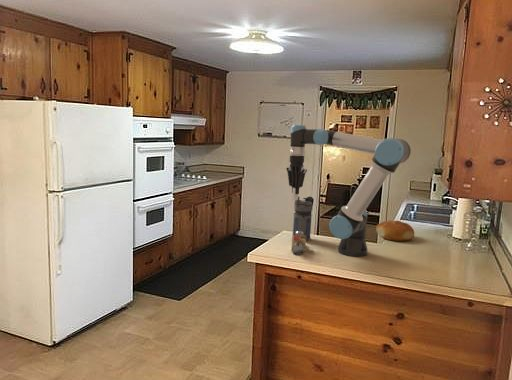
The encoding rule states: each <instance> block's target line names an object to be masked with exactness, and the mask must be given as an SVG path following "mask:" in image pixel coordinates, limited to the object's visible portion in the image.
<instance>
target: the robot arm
mask: <svg viewBox="0 0 512 380" xmlns="http://www.w3.org/2000/svg"><path fill="white" fill-rule="evenodd" d="M305 145H318V146H321V145H327V146H333V147H336V148H337V147H338V148H343V149H348V150H352V151H356V152H362V153H367V154H372V155H373V157H372V158H371V166H370V168H369V169H368V170H367V172H366V173H365V176H364V177H363V179H362V180H361V182H360V184H359V185H358V187H357V188H356V190H355V192H354V193H353V195H352V196H351V198H350V200H349V201H348V203H347V204H346V205H343V206H342V207H341V208H340V209H339V211H338V212H337V214H336V215H334V216H333V217H332V218H331V219H330V221H329V223H328V227H329V231H330V233H331V234H332V236H333V237H335V238H336V239H339V240H340V241H339V244H338V247H337V252H338V253H339V254H341V253H342V255H344V256H350V257H365V256H367V255H368V252H369V251H368V246H367V245H368V244H367V241H366V234H367V223H368V211H366V210H367V209H368V207H369V206H370V204H371V203H372V201H373V199H374V198H375V196H376V195H377V193H378V191H379V190H380V189H381V187H382V185H383V184H384V182H385V181H386V179H387V178H388V176H389V175H390V174H394V173H395V172H396V170H398V167H399V166H400V165H401V164H404V163H405V162H407V160H408V159H409V158H410V156H411V152H412V150H411V149H412V148H411V146H410V143H408V142H407V141H406V140H404V139H402V138H392V137H390V138H384V139H379V138H374V137H368V136H362V135H357V134H351V133H346V132H340V131H336V130H335V131H334V130H331V129H323V128H320V129H319V128H318V129H317V128H316V129H314V128H312V129H309V128H308V129H307V127H306V125H303V124H293V125H291V127H290V146H289V154H290V155H289V163H290V164H289V167H286V168H285V169H286V171H287V178H288V179H287V180H288V186H289V187H291V194H292V198H291V199H292V201H295V200H298V196H299V194H300V188H302V187H303V186H304V185H303V184H304V181H305V177H306V173H307V172H308V170H307V169H305V167H304V163H305V156H304V155H305V152H306V151H305V147H306V146H305Z"/></svg>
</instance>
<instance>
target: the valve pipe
mask: <svg viewBox="0 0 512 380" xmlns="http://www.w3.org/2000/svg"><path fill="white" fill-rule="evenodd" d="M293 238H294V235H293V234H292V237H291V250H290V251H291V252H292V254H293V255H303V253H304V252H306V247H307V246H306V245H307V244H306V243H307V240H306V236H305V235H303V236H301V238H300V241H293Z"/></svg>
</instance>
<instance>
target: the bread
mask: <svg viewBox="0 0 512 380" xmlns="http://www.w3.org/2000/svg"><path fill="white" fill-rule="evenodd" d="M375 230H376V233H377V235H378V236H379V237H380V238H382V239H384V240H387V241H393V242H405V241H407V242H408V241H410V240H412V239H413V238H414V236H415V230H414V228H413V227H412V226H411V225H410V224H408V223H405V222H404V221H400V220H386V221H382V222H379V223H378V224H377V225H376V226H375Z"/></svg>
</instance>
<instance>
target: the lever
mask: <svg viewBox="0 0 512 380" xmlns="http://www.w3.org/2000/svg"><path fill="white" fill-rule="evenodd" d="M301 236H303V231H296V234H295V235H294V238H293V241H300V238H301Z"/></svg>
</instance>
